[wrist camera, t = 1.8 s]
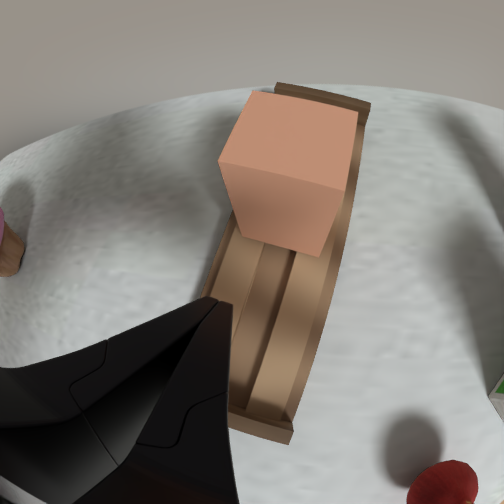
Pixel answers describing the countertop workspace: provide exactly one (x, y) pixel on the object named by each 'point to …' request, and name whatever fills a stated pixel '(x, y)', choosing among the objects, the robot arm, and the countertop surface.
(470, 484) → the onion
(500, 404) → the skincare box
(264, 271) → the wooden slide track
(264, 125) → the block
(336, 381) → the countertop surface
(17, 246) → the cupcake
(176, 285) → the countertop surface
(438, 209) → the countertop surface
